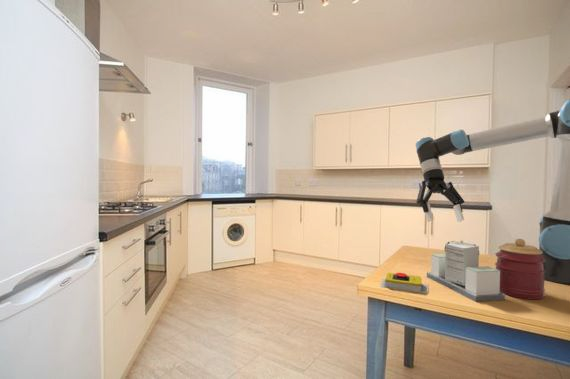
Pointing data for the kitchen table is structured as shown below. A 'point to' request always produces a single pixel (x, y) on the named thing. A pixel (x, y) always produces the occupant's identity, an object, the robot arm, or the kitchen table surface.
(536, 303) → the kitchen table surface
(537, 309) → the kitchen table surface
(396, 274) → the emergency button
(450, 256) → the grey ridged module
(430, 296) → the kitchen table surface
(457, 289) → the mounting rail
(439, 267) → the grey module pair
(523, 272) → the canister
